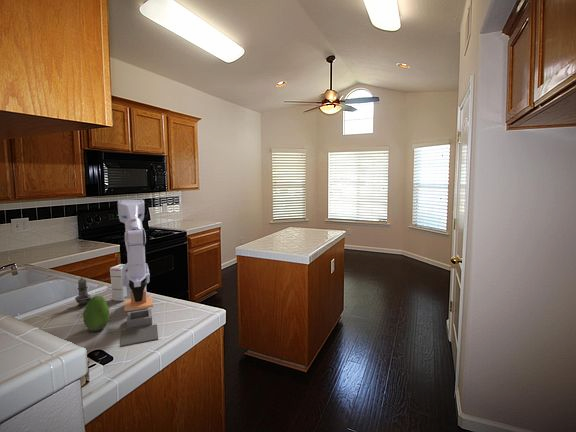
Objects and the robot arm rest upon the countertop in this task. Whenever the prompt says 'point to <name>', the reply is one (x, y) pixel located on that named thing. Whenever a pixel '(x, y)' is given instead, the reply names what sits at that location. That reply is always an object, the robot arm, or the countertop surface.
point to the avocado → (96, 313)
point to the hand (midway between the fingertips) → (138, 299)
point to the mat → (139, 335)
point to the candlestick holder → (82, 294)
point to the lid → (143, 304)
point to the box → (139, 318)
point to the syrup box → (118, 283)
